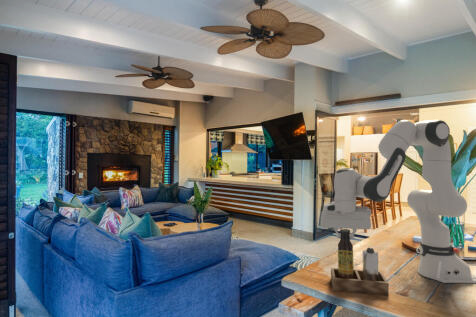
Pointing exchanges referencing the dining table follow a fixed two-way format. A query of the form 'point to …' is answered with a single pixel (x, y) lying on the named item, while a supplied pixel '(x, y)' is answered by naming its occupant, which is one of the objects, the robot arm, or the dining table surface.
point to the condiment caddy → (359, 283)
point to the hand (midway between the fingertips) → (345, 238)
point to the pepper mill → (370, 264)
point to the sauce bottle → (345, 254)
